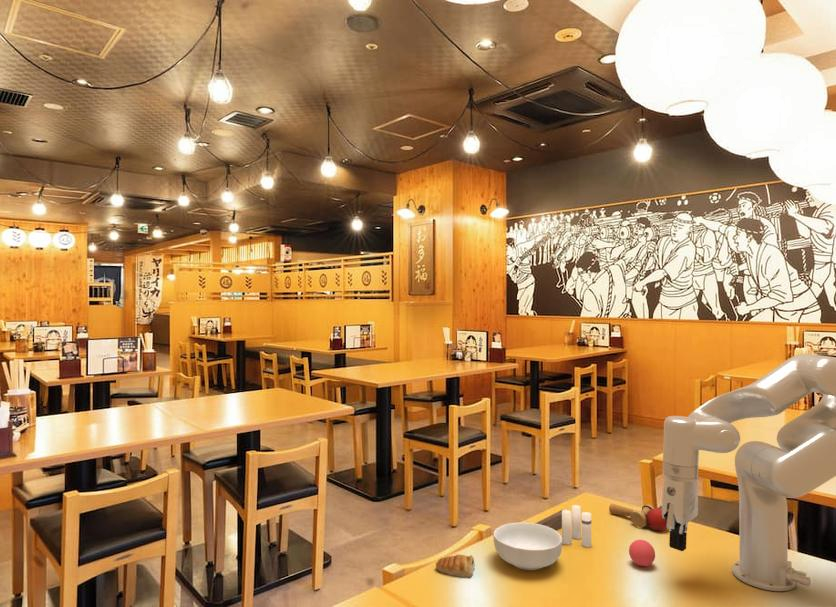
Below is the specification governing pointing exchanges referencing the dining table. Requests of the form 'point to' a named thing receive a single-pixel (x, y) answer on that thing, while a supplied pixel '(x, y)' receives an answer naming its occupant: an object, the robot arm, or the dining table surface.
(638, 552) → the ball
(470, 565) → the pastry
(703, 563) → the dining table surface
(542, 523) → the wall
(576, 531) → the pin
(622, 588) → the dining table surface
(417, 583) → the dining table surface
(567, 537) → the pin
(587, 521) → the front pin
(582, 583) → the dining table surface
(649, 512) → the kendama
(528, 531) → the cereal bowl
